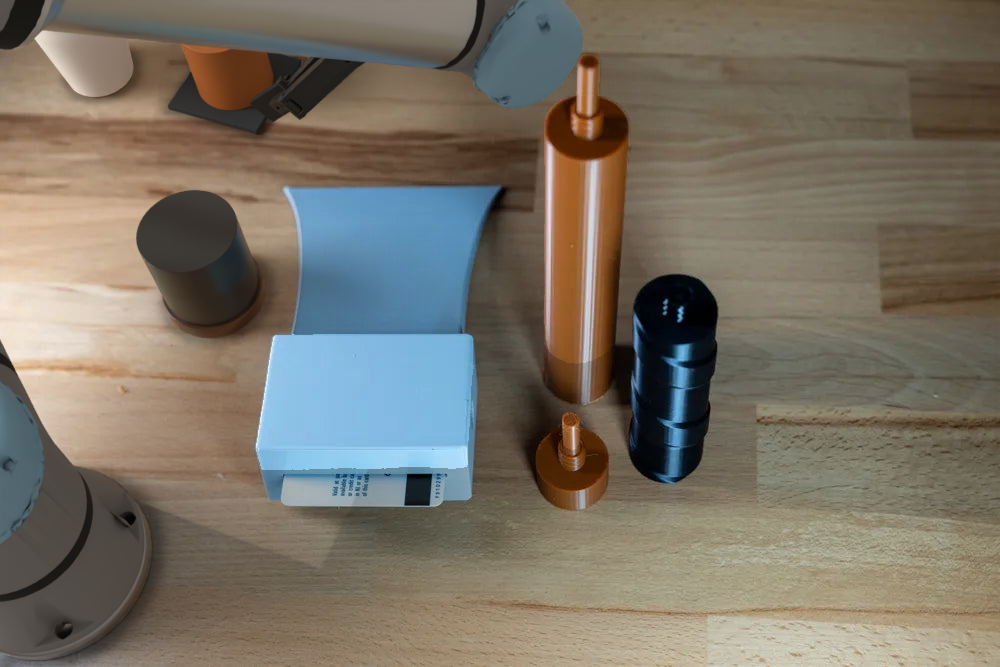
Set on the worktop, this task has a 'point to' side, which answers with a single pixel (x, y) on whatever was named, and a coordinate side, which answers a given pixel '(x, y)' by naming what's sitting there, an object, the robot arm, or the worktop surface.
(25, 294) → the worktop surface
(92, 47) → the cup
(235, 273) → the dark grey cylinder
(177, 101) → the mat
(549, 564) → the worktop surface
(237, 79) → the copper cylinder
